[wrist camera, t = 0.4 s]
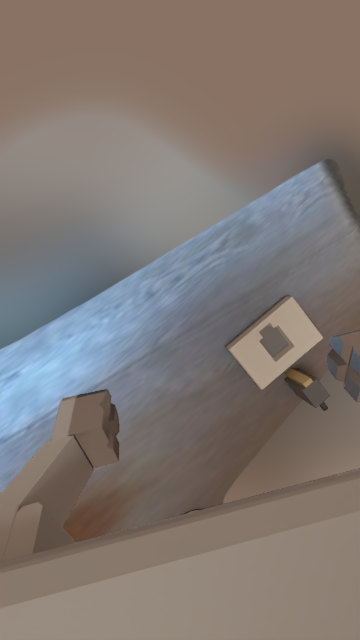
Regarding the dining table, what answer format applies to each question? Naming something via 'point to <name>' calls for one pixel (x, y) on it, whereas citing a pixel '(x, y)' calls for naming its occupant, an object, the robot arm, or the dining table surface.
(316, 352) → the dining table surface
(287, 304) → the socket block
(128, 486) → the dining table surface
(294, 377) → the plug
